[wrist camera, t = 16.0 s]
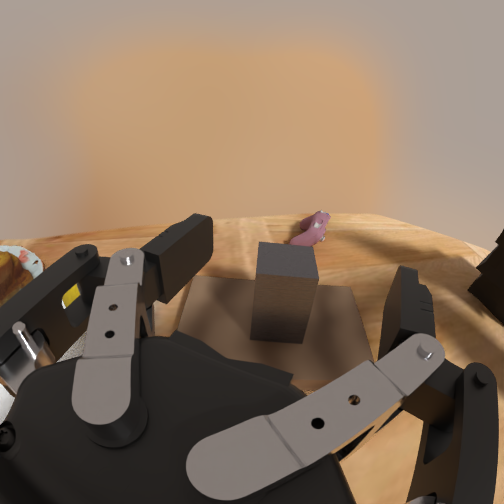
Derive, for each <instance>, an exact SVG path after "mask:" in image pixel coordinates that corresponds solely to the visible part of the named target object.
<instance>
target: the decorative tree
mask: <svg viewBox="0 0 504 504" xmlns="http://www.w3.org/2000/svg"><path fill="white" fill-rule="evenodd" d="M495 242H496V243H497V244H498V246H497V247H496V248H495V249H494V250H493V251H492V252H491V253H490V254H489V255H488V256H487V257H486V258H485V259H484V260H483V261H482V262H481V263H480V264H479V265H478V266H477V267H476V269H478V270H479V271H480V272H481V274H480V276H479V277H478V278H477V279H476V280H475V281H474V282H473V284H472V285H471V286H470V287H469V289H468V291H469V292H470V293H472V294H473V295H474V296H475V297H477V298H478V299H479V300H480V301H481V302H482V303H483V304H484V305H485V306H486V307H487V308H488V309H489V310H490V311H491V312H492V313H493V314H494V315H495V316H496V317H497V318H498V319H499V320H500V321H501V322H502V323H503V324H504V229H503V231H502V233H501V234H500V236H499V237H498V239H497V240H496V241H495Z"/></svg>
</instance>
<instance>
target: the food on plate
mask: <svg viewBox="0 0 504 504" xmlns="http://www.w3.org/2000/svg"><path fill="white" fill-rule="evenodd" d="M22 247H23V246H17V245H14V246H6V245H3V246H0V307H1V306H2V305H4V304H5V303H6V302H7V301H8V300H9V299H10V298H12V297H13V296H14V295H15V294H16V293H17V292H19V291H20V290H21V289H22V288H23V287H25V286H26V285H27V284H28V283H30V282H31V281H32V280H33V279H34V278H36V277H37V276H38V275H39V274H41V273H42V272H43V271H44V270H43V269H44V267H43V265H44V264H43V262H42V260H40V259H39V258H38V257H37V256H35V253H32V252H30V251H28V250H26V249H24V248H22ZM36 260H38V264H34V265H33V263H34V262H35V261H36Z"/></svg>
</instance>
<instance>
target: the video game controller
mask: <svg viewBox="0 0 504 504" xmlns="http://www.w3.org/2000/svg"><path fill="white" fill-rule="evenodd" d="M330 217H331V216H329V214H328V213H326V212H322V210H321V211H318V212H316V213H315V214H314V215H312V216H310V217H307V218H305V219H303V220H302V221H301V222H300V228H301V229H302V230H307V231H305V232H304V233H302V234H300V235H297V236H295V237H294V238H292V239H291V240H290V242H289V245H299V246H310V247H311V246H312V245H315V244H316V243H317V242H318V241H320V240H321V242H322V241H323V240H324V239H325V236H324V237H323V235H324V233H325V231H326V229H325V226H326V224H327V223H328V221H329V219H330Z"/></svg>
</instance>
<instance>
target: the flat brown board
mask: <svg viewBox="0 0 504 504" xmlns="http://www.w3.org/2000/svg"><path fill="white" fill-rule="evenodd" d="M254 289H255V280H244V279H232V278H220V277H208V276H197V275H195V276H194V278H193V281H192V284H191V287H190V290H189V293H188V296H187V300H186V303H185V306H184V309H183V312H182V316H181V319H180V322H179V325H178V329H177V331H180V332H182V333H184V334H187V335H189V336H192V337H194V338H196V339H199V340H201V341H203V342H204V343H206V344H207V345H208V346H210V347H211V348H213V349H214V350H216V351H217V352H218V353H220V354H221V355H223V356H224V357H226V358H228V359H234V360H240V361H247V362H254V363H262V364H265V365H268V366H271V367H274V368H277V369H280V370H283V371H286V372H289V373H292V374H294V375H293V379H292V382H291V384H293V385H294V386H296V387H297V388H299V389H300V390H319V389H320V388H322V387H324V386H326V385H327V384H329V383H331V382H332V381H334V380H336V379H337V378H339V377H341V376H342V375H344V374H346V373H347V372H349V371H350V370H352V369H354V368H355V367H357V366H358V365H360V364H361V363H363V362H365V361H367V360H371V361H372V362H373V363H374V360H373V356H372V353H371V349H370V346H369V343H368V339H367V336H366V333H365V330H364V326H363V323H362V320H361V317H360V314H359V311H358V308H357V305H356V302H355V299H354V296H353V293H352V290H351V287H344V286H328V285H317V290H316V294H315V298H314V302H313V306H312V310H311V313H310V317H309V321H308V325H307V329H306V332H305V336H304V340H303V343H302V344H294V343H280V342H267V341H255V340H250V331H251V321H252V310H253V300H254Z"/></svg>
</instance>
